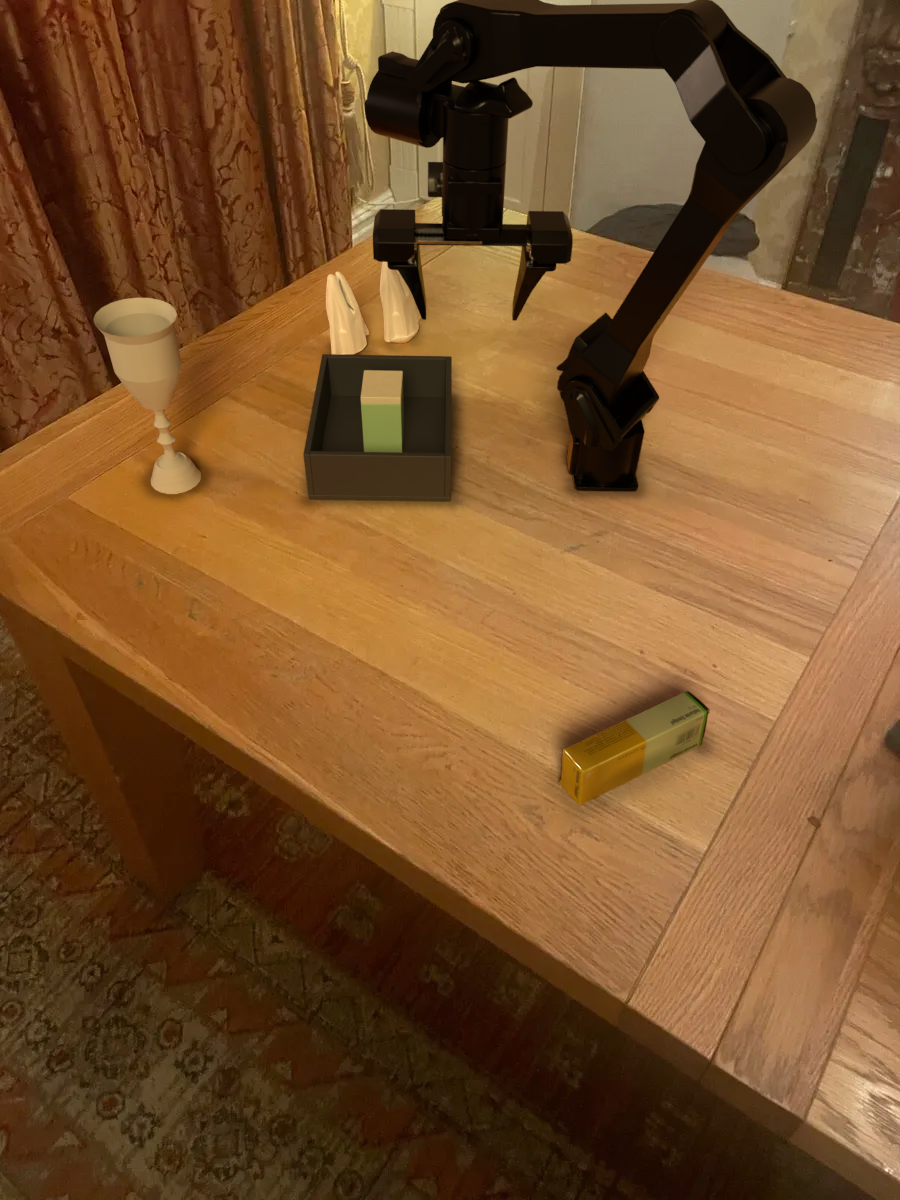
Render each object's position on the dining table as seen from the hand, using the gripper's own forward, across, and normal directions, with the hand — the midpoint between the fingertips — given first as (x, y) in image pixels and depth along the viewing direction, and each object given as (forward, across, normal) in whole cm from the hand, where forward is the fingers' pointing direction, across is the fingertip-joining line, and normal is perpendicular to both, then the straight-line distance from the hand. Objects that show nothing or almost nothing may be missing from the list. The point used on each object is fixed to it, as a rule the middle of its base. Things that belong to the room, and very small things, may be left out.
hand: (469, 318), depth 93 cm
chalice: (+12, +30, +12) cm, 34 cm away
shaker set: (+12, +11, -15) cm, 22 cm away
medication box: (+12, -12, +46) cm, 49 cm away
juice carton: (+11, +9, +6) cm, 16 cm away
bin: (+12, +9, +6) cm, 16 cm away
